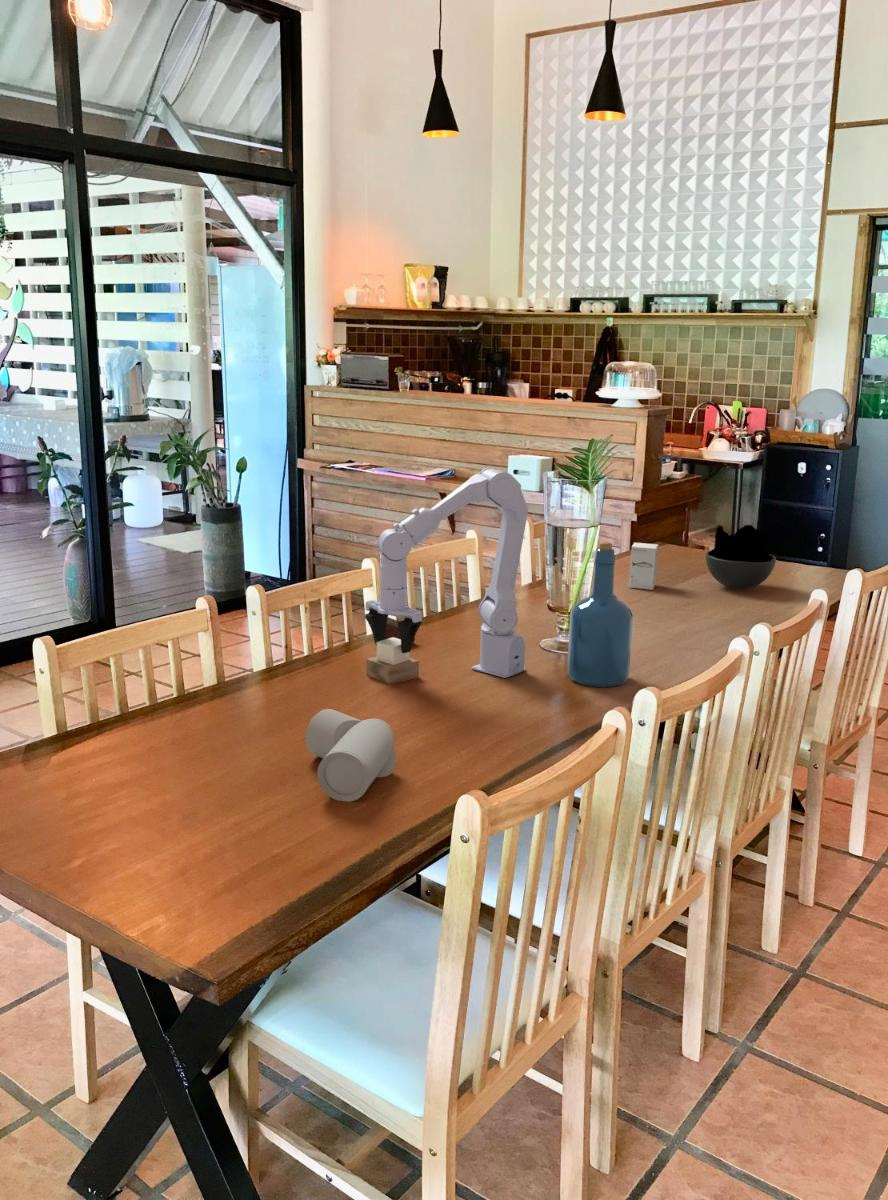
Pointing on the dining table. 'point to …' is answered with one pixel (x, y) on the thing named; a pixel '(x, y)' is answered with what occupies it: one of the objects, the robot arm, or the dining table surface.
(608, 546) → the wine bottle
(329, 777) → the grey cylindrical cross piece
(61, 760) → the dining table surface
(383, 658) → the block
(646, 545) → the supplement box
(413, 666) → the base
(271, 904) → the dining table surface
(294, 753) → the dining table surface
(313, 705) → the dining table surface
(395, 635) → the brick
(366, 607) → the robot arm
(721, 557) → the coal bowl
